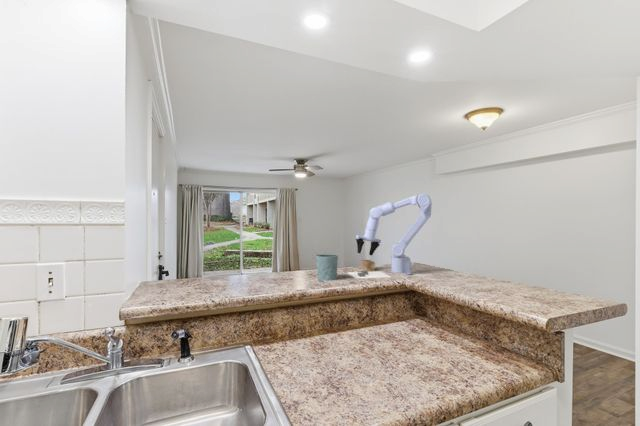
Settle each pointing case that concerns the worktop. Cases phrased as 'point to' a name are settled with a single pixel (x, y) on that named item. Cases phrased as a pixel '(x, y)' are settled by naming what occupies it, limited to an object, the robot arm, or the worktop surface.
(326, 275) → the teal pot
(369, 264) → the sanding block
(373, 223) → the robot arm
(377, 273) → the board
